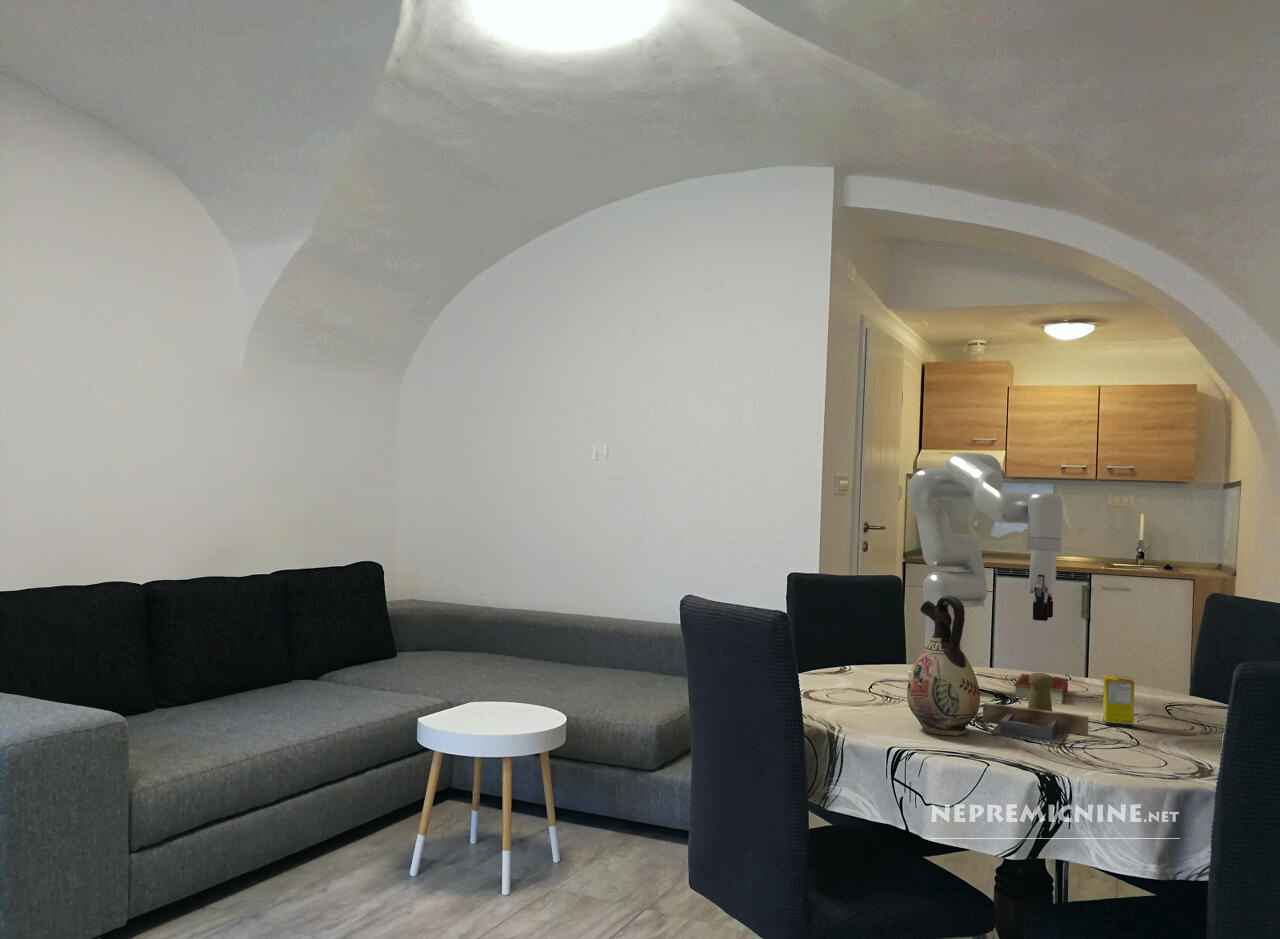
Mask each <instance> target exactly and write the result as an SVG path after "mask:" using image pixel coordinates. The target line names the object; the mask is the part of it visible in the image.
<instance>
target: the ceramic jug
mask: <svg viewBox="0 0 1280 939" xmlns="http://www.w3.org/2000/svg"><path fill="white" fill-rule="evenodd" d="M949 605H950V606H951V607H952V608H953V613H954V620H953V626H952V633H951V629H950V625H951V623H952V618H951V616H950V614H949V612H948V606H949ZM920 612H921V614H923V615H924V616H925V617H926V616H928V617H930V618H931V619H932V620H933V621H934V622H935V631H934V635H933V637H932V638H931V640H930V642H929V643H928V644H927V646H926V647H925V646H924V648H923V650H922V651H921V653H920V655H919V656H918V658H917V659H916V661H915V663H914V665H913V667H912V668H911V670H912V672H911V674H910V677H909V676H908V677H909V678H908V682H907V683H908V684H907V687H906V697H907V698H906V699H907V703H908V707H909V710H910V711H911V712H912V714H913V715H914V717H915V718H916V719H917V720H918V723H919V725H920V726H921V729H922V731H924V732H925V733H926V732H927V733H928V734H929V733H930V734H935V735H941V736H942V735H943V736H955V737H956V736H961V735H963V734H966V733H967V726H968V725H969V724H970V723H971V722H972V721H973V720H974V719H975V717H976V715H978V713H979V710H980V704H981V692H980V688H979V687H980V686H979V682H978V679H977V676H976V674H975V670H974V669H973V667H972V665H971V663H970V662H969V660H968V658H967V657H966V654H965V653H964V652H963V651H961V650H960V640H961V637H962V638H963V631H964V625H965V620H966V618H965V614H966V612H965V607H964V606H963V604H962V603H961V601H960V600H959V599H957V598H956V597H954V596H951V595H947V596H943V597H942V598H940V599H939V600H938V602H937V605H936V606H935V605H934V604H933V603H932V602H930V601H926V602H923V604H922V605H921V607H920Z"/></svg>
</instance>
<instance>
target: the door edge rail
mask: <svg viewBox="0 0 1280 939" xmlns="http://www.w3.org/2000/svg"><path fill="white" fill-rule="evenodd" d="M1008 713H1010V714H1014V716H1013V722H1021V723H1028V724H1035V725H1043V726H1047V725H1048V724H1049V722H1050V721H1051V719H1056V720H1058V726H1057V730H1062V731H1067V734H1070V733H1073V734H1072V735H1078V734H1080V736H1085V735H1087V736H1089V715H1084V714H1083V715H1082V714H1077V713H1076V714H1075V713H1070V712H1069V713H1068V712H1061V711H1053V710H1052V711H1046V710H1039V709H1031V708H1028V707H1022V706H1016V705H1007V704H998V703H992V702H983V704H982V722H983V723H984V722H985V723H992V724H997V725H998V724H999V723H1000V722H1001V720H1002V719H1003V718H1004V717H1005V716H1006V715H1007V714H1008Z"/></svg>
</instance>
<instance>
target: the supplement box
mask: <svg viewBox="0 0 1280 939" xmlns="http://www.w3.org/2000/svg"><path fill="white" fill-rule="evenodd" d="M1102 697H1103V704H1102V705H1103V707H1102V708H1103V709H1102V713H1103V714H1102V721H1103V723H1104V724H1106V725H1105V726H1108V725H1109V726H1112V727H1123V728H1130V729H1133V728H1134V726H1135V725H1134V724H1135V680H1134V679H1133V678H1132V676H1123V675H1122V676H1121V675H1119V676H1118V675H1112V674H1111V675H1110V674H1109V675H1108V674H1104V675H1103V696H1102Z"/></svg>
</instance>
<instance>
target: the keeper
mask: <svg viewBox="0 0 1280 939" xmlns="http://www.w3.org/2000/svg"><path fill="white" fill-rule="evenodd" d="M1013 716H1014V714H1010V713H1008V714H1007V715H1006V716H1005V717H1004V718H1003V719H1002V720H1001V722H1000V723H999V724H998V723H997V725H996V726H995V727H994V728H993V729H992V730H991V731H990V736H998V737H1003V736H1005V738H1010V737H1015V738H1014V739H1017V738H1022V739H1021V740H1024V739H1030V740H1029V741H1031V740H1037V741H1036V742H1038V741H1042V742H1041V743H1045V742H1051V743H1050V744H1052V743H1058V744H1057V745H1059V744H1061V745H1062V743H1063V741H1064V740H1065V738H1066V736H1067V735H1066V734H1068V733H1067V731H1062V730H1057V726H1058V720H1056V719H1051V721H1050V722H1049V724H1048V725H1047V726H1043V725H1035V724H1028V723H1021V722H1013ZM1064 737H1065V738H1064ZM1063 739H1064V740H1063ZM1061 742H1062V743H1061Z"/></svg>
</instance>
